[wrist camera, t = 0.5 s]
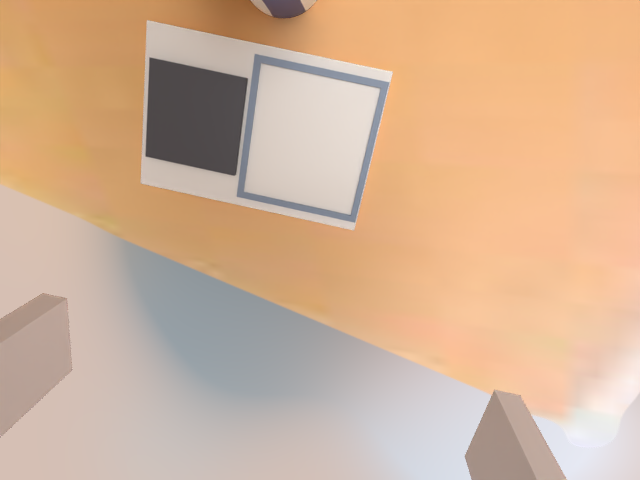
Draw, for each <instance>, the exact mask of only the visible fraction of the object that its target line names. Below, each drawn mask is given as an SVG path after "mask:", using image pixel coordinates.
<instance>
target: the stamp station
mask: <svg viewBox="0 0 640 480" xmlns="http://www.w3.org/2000/svg"><path fill="white" fill-rule="evenodd" d="M392 73H393V72H391V71H386V70H381V69H376V68H372V67H367V66H362V65H357V64H353V63H348V62H343V61H338V60H334V59H329V58H324V57H319V56H315V55H310V54H305V53H301V52H296V51H291V50H286V49H282V48H277V47H272V46H267V45H263V44H258V43H253V42H248V41H244V40H239V39H234V38H229V37H225V36H220V35H215V34H210V33H206V32H201V31H196V30H191V29H187V28H182V27H177V26H173V25H168V24H163V23H158V22H154V21H149V20H147V31H146V57H145V83H144V110H143V136H142V163H141V184H145V185H150V186H154V187H159V188H163V189H168V190H172V191H177V192H182V193H186V194H191V195H195V196H200V197H204V198H209V199H213V200H218V201H222V202H227V203H232V204H236V205H241V206H245V207H250V208H254V209H259V210H263V211H268V212H273V213H277V214H282V215H286V216H291V217H295V218H300V219H304V220H309V221H313V222H318V223H323V224H327V225H332V226H336V227H341V228H345V229H350V230H354V229H355V225H356V221H357V217H358V213H359V209H360V204H361V200H362V196H363V192H364V188H365V184H366V180H367V176H368V172H369V168H370V164H371V159H372V155H373V151H374V147H375V143H376V139H377V135H378V131H379V127H380V123H381V119H382V114H383V110H384V106H385V102H386V98H387V94H388V90H389V86H390V82H391V78H392Z"/></svg>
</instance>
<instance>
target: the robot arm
mask: <svg viewBox="0 0 640 480" xmlns="http://www.w3.org/2000/svg"><path fill="white" fill-rule="evenodd" d="M71 371H72V362H71V347H70V333H69V319H68V305H67V298H63V297H58V296H53V295H49V294H44V293H43V294H41V295H39V296H37V297H36V298H34V299H32V300H31V301H29V302H28V303H26V304H24V305H23V306H21V307H19V308H18V309H16V310H14V311H13V312H11V313H9V314H8V315H6V316H4V317H3V318H1V319H0V437H1V436H2V435H3V434H4V433H5V432H7V431H8V430H9V429H10V428H11V427H12V426H13V425H14V424H15V423H16V422H17V421H18V420H19V419H21V417H23V416H24V415H25V414H26V413H27V412H28V411H29V410H30V409H31V408H32V407H33V406H34V405H36V403H38V402H39V401H40V400H41V399H42V398H43V397H44V396H45V395H46V394H47V393H48V392H49V391H50V390H51V389H53V388H54V387H55V386H56V385H57V384H58V383H59V382H60V381H61V380H62V379H63V378H64V377H65V376H66V375H68V374H69V373H70V372H71ZM465 459H466V462H467V465H468V468H469V472H470V475H471V479H472V480H567V479H566V477H565V476H564V474H563V472H562V470H561V468H560V466H559V465H558V463H557V461H556V459H555V457H554V456H553V454H552V452H551V450H550V449H549V447H548V445H547V443H546V441H545V439H544V438H543V436H542V434H541V432H540V430H539V429H538V427H537V425H536V423H535V421H534V419H533V418H532V416H531V414H530V412H529V410H528V409H527V407H526V405H525V403H524V401H523V400H522V398H521V396H520V395H516V394H511V393H507V392H502V391H497V390H494V392H493V394H492V396H491V399H490V401H489V403H488V405H487V408H486V410H485V412H484V414H483V417H482V419H481V421H480V423H479V426H478V428H477V430H476V432H475V435H474V437H473V439H472V441H471V444H470V446H469V448H468V450H467V452H466V455H465Z"/></svg>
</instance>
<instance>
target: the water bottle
mask: <svg viewBox="0 0 640 480" xmlns="http://www.w3.org/2000/svg"><path fill="white" fill-rule="evenodd" d="M250 1H251V2H252V3H253V4H254V5H255V6H256V7H257V8H258V9H259V10H261V11H262V12H264V13H265V14H267V15H270V16H272V17H276V18H291V17H295V16H298V15H300V14H302V13H304V12H305V11H307V10H308V9H309V8H310V7H311V6H312V5H313V4H314V3H315V2H316V1H317V0H250Z"/></svg>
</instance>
